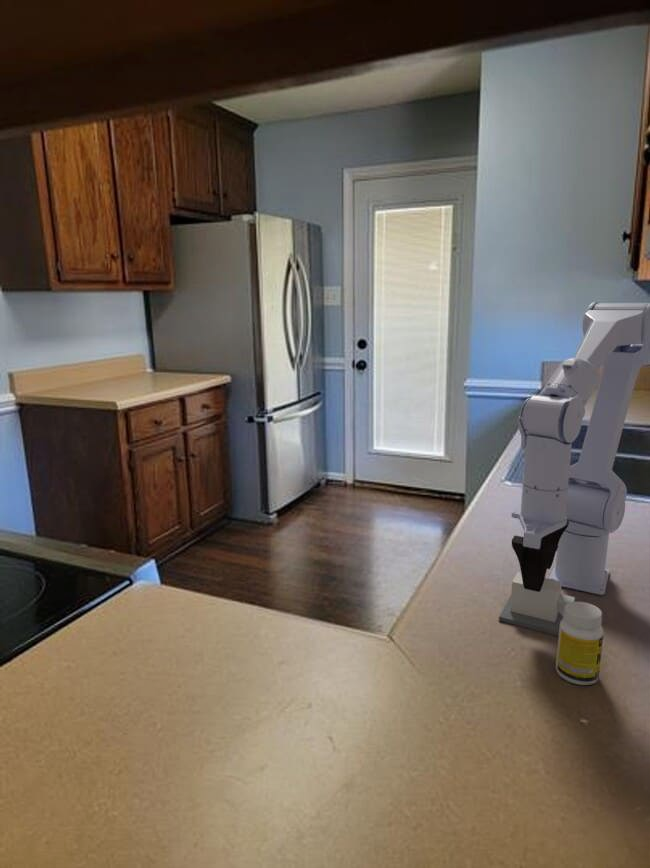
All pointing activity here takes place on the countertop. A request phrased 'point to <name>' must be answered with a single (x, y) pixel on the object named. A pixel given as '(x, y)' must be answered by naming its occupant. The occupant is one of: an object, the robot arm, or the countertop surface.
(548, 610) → the block
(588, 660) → the supplement bottle
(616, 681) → the countertop surface
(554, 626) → the coaster
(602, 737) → the countertop surface
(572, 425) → the robot arm
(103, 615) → the countertop surface
